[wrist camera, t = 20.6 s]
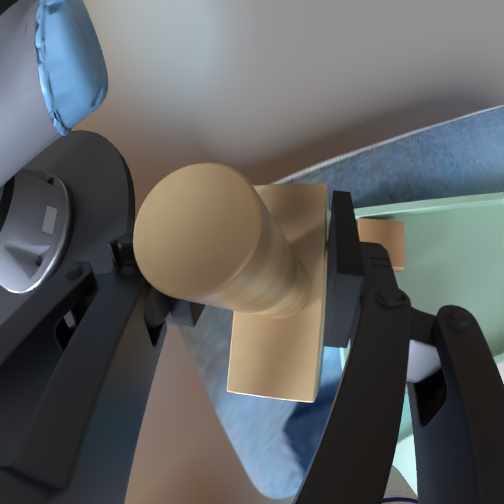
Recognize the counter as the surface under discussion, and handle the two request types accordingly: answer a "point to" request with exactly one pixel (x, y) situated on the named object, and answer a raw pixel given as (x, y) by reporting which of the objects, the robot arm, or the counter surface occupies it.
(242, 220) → the brush
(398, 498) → the teacup with lid
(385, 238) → the cork piece
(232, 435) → the counter surface
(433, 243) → the tray
